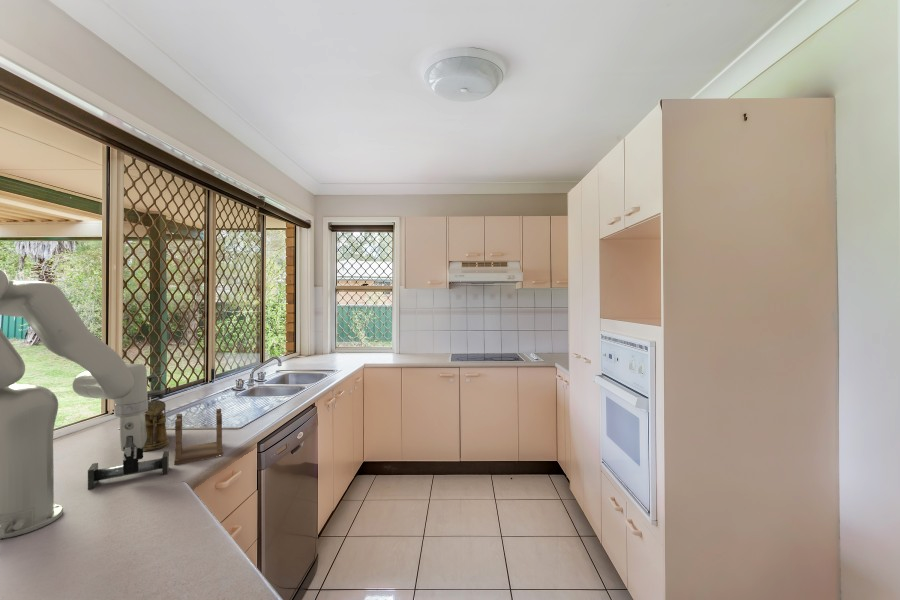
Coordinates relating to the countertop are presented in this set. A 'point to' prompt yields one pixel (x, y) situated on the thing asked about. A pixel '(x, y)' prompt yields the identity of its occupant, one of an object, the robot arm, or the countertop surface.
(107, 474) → the hanging bar
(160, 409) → the brown carved statue
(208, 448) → the hanging rack
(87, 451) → the countertop surface
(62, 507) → the robot arm
